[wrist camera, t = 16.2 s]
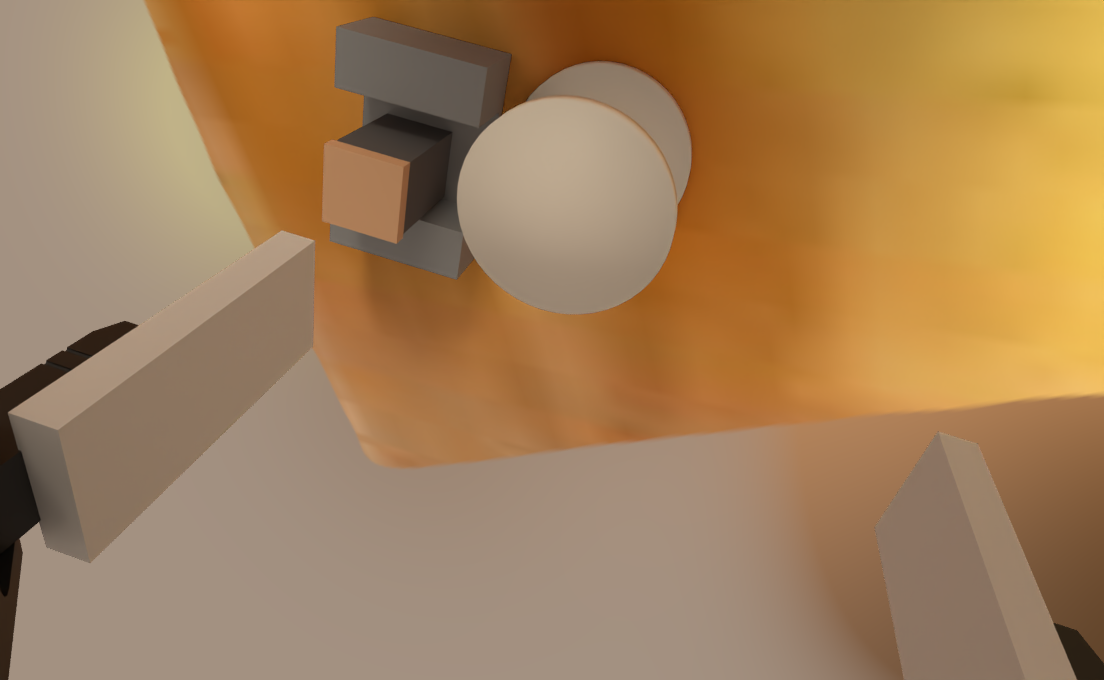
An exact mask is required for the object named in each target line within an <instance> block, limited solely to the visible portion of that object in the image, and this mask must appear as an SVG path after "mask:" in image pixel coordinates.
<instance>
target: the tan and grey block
mask: <svg viewBox="0 0 1104 680" xmlns="http://www.w3.org/2000/svg"><path fill="white" fill-rule="evenodd" d="M452 133H453V132H451V131H447V130H444V129H440V128H437V127H433V126H430V125H426V124H423V123H419V122H416V121H412V120H409V119H405V118H402V117H399V116H395V115H392V114H388V113H387V114H385V115H383V116H381V117H380V118H378V119H376V120H374V121H372V122H370V123H368V124H367V125H365V126H363V127H361V128H359V129H357V130H355V131H353V132H352V133H350V134H348V135H346V136H344V137H342V138H340V139H339V140H337V141H336V140H330V141H328V142H326V143H325V144H324V168H323V205H322V221H323V222H327V223H330V224H333V225H337V226H340V227H343V228H346V229H350V230H353V231H356V232H359V233H363V234H366V235H369V236H373V237H376V238H379V239H382V240H386V241H389V242H392V243H395V244H397V243H398V242H399V241H400V240H401V239H402V238H403V234H404V233H405V232H406V231H407V230H408V229H409V228H410V227H412V226H413V225H414V224H415V223H416V222H417V221H418V220H419V219H420V218H422V217H423V216H424V215H425V214H426V213H427V212H428V211H429V210H430V209H432V208H433V207H434V206H435V205H436V204H437V203H438V202H439V201H440V200H442V199H443V198H444V196H445V188H446V180H447V172H448V164H449V156H450V148H451V141H452Z"/></svg>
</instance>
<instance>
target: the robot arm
mask: <svg viewBox="0 0 1104 680" xmlns="http://www.w3.org/2000/svg"><path fill="white" fill-rule="evenodd" d="M314 269H315V240H311V239H308V238H305V237H301V236H298V235H295V234H292V233H288V232H285V231H280V232H279V233H277V234H276V235H274V236H273V237H271V238H270V239H268V240H267V241H265V242H264V243H262V244H261V245H259V246H258V247H256V248H255V249H253V250H252V251H250V252H249V253H247V254H246V255H244V256H243V257H241V258H240V259H238V260H237V261H235V262H234V263H232V264H231V265H229V266H228V267H226V268H225V269H223V270H222V271H220V272H219V273H217V274H216V275H214V276H213V277H211V278H210V279H208V280H207V281H205V282H204V283H202V284H201V285H199V286H198V287H196V288H195V289H193V290H192V291H190V292H189V293H187V294H186V295H184V296H183V297H181V298H180V299H178V300H177V301H175V302H173V303H172V304H171V305H169V306H168V307H166V308H164V309H163V310H161V311H160V312H158V313H157V314H155V315H154V316H152V317H151V318H150V319H148V320H147V321H145V322H143V323H142V324H140V325H136V324H133V323H130V322H126V321H123V322H120V323H117V324H114V325H111V326H108V327H105V328H102V329H99V330H96V331H93V332H91V333H89V334H88V335H86V336H85V337H83V338H81V339H80V340H78V341H77V342H75V343H74V344H72V345H70V346H69V347H67V350H66V351H61V352H59V353H58V354H56V355H54V356H53V357H51V358H50V359H48V360H47V361H46V364H40V365H38V366H37V367H35V368H34V369H32V370H30V371H29V372H27V373H26V374H24V375H22V376H21V377H19V378H18V379H16V380H14V381H13V382H12V383H10V384H8V385H6V386H5V387H3V388H2V389H0V680H8V677H9V668H10V659H11V651H12V642H13V633H14V624H15V615H16V607H17V597H18V589H19V579H20V571H21V563H22V554H23V552H22V548H21V543H20V540H19V538H20V537H21V536H23V535H24V534H25V533H26V532H27V531H28V530H30V529H31V528H32V527H33V526H34V525H36V524H37V523H38V522H39V523H40V526H41V530H42V534H43V537H44V540H45V544H46V547H47V548H50V549H53V550H55V551H58V552H61V553H64V554H66V555H69V556H72V557H75V558H77V559H80V560H83V561H86V562H88V563H91V562H92V561H93V560H94V559H95V558H96V557H97V556H98V555H99V554H100V553H101V552H102V551H103V550H104V549H105V548H106V547H107V546H108V545H109V544H110V543H111V542H112V541H113V540H114V539H116V537H117V536H119V535H120V534H121V533H122V532H123V531H124V530H125V529H126V528H127V527H128V526H129V525H130V524H131V523H132V522H133V521H134V520H135V519H136V518H137V517H138V516H139V515H140V514H141V513H142V512H143V511H144V510H145V509H146V508H147V507H148V506H149V505H150V504H151V503H153V501H155V499H157V498H158V497H159V496H160V495H161V494H162V493H163V492H164V491H165V490H166V489H167V488H168V487H169V486H170V485H171V484H172V483H173V482H174V481H175V480H176V479H177V478H178V477H179V476H180V475H181V474H182V473H183V472H184V471H185V470H186V469H188V468H189V467H190V466H191V465H192V464H193V463H194V462H195V461H196V460H197V459H198V458H199V457H200V456H201V455H202V454H203V453H204V452H205V451H206V450H207V449H208V448H209V447H210V446H211V445H212V444H213V443H214V442H215V441H216V440H217V439H218V438H219V437H220V436H221V435H222V434H223V433H225V432H226V430H228V429H229V428H230V427H231V426H232V425H233V424H234V423H235V422H236V421H237V420H238V419H239V418H240V417H241V416H242V415H243V414H244V413H245V412H246V411H247V410H248V409H249V408H250V407H251V406H252V405H253V404H254V403H255V402H256V401H257V400H258V399H260V397H262V396H263V395H264V394H265V392H267V391H268V390H269V389H270V388H271V387H272V386H273V385H274V384H275V383H276V382H277V381H278V380H279V379H280V378H281V377H282V376H283V375H284V374H285V373H286V372H287V371H288V370H289V369H290V368H291V367H292V366H293V365H294V364H295V363H297V362H298V361H299V360H300V359H301V358H302V357H303V356H304V355H305V354H306V353H307V352H308V351H309V350H310V349H311V348H312V347H313V324H314ZM875 532H876V537H877V542H878V547H879V553H880V558H881V563H882V568H883V573H884V579H885V584H886V589H887V594H888V599H889V604H890V609H891V615H892V620H893V624H894V630H895V635H896V640H897V646H898V651H899V655H900V661H901V666H902V671H903V677H904V680H1104V663H1103V662H1102V661H1101V660H1100V658H1099V657H1098V656H1097V655H1096V653H1095V652H1094V651H1093V650H1092V648H1091V647H1090V646H1089V645H1088V643H1087V642H1086V641H1085V640H1084V639H1083V637H1082V636H1081V635H1080V634H1079V632H1078V631H1077V630H1074V629H1071V628H1068V627H1065V626H1062V625H1059V624H1055V623H1053V622H1052V619H1051V617H1050V614H1049V612H1048V610H1047V607H1046V605H1045V602H1044V600H1043V598H1042V595H1041V593H1040V591H1039V588H1038V586H1037V583H1036V581H1035V579H1034V576H1033V574H1032V572H1031V569H1030V567H1029V564H1028V563H1027V560H1026V557H1025V555H1024V552H1023V550H1022V548H1021V545H1020V543H1019V541H1018V538H1017V536H1016V533H1015V531H1014V529H1013V526H1012V524H1011V522H1010V519H1009V517H1008V515H1007V512H1006V510H1005V507H1004V505H1003V503H1002V500H1001V498H1000V495H999V493H998V491H997V488H996V486H995V483H994V481H993V479H992V476H991V474H990V472H989V469H988V467H987V464H986V462H985V460H984V457H983V455H982V453H981V450H980V448H979V446H978V444H977V443H974V442H971V441H968V440H964V439H961V438H958V437H955V436H951V435H948V434H945V433H941V432H937V433H936V435H935V436H934V438H933V439H932V441H931V442H930V444H929V446H928V447H927V448H926V450H925V452H924V453H923V455H922V456H921V458H920V459H919V461H918V462H917V464H916V465H915V467H914V468H913V470H912V471H911V473H910V474H909V476H908V477H907V479H906V480H905V482H904V484H903V485H902V487H901V488H900V489H899V491H898V492H897V494H896V495H895V497H894V499H893V500H892V501H891V503H890V505H889V506H888V508H887V509H886V511H885V512H884V514H883V515H882V517H881V518H880V520H879V521H878V523H877V524H876V526H875Z"/></svg>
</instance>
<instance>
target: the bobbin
mask: <svg viewBox="0 0 1104 680" xmlns="http://www.w3.org/2000/svg"><path fill="white" fill-rule="evenodd" d="M691 162H692V143H691V137H690V132H689V128H688V125H687V121H686V119H685V117H684V115H683V112H682V110H681V108H680V107H679V105H678V104H677V102H676V100H675V99H674V98H673V97H672V95H671V94H670V93H669V92H668V90H667V89H666V88H665V87H663V86H662V85H661V84H660V83H659V82H658V81H657V80H655V79H654V78H653V77H651V76H650V75H648V74H647V73H645V72H643V71H641V70H639V69H637V68H635V67H632V66H629V65H626V64H622V63H617V62H612V61H591V62H584V63H580V64H576V65H573V66H570V67H568V68H565V69H563V70H561V71H560V72H558V73H556V74H554V75H553V76H551V77H550V78H549V79H548V80H546V81H545V82H544V83H542V84H541V85H540V86H539V87H538V88H537V89H536V90H535V91H534V92H533V93H532V94H531V95H530V96H529V98H528V99H527V101H526V102H525V103H522V104H519V105H518V106H516V107H514V108H512V109H510V110H509V111H507V112H506V113H504V114H503V115H502V116H500V117H499V118H498V119H497V120H495V121H494V122H493V123H491V124H490V125H489V126H488V127H487V128H486V129H485V130H484V131H483V132H482V133H481V134H480V135H479V137H478V138H477V139H476V141H475V142H474V144H473V145H472V146H471V148H470V150H469V152H468V154H467V156H466V158H465V160H464V163H463V166H462V169H461V171H460V176H459V181H458V188H457V210H458V216H459V222H460V226H461V229H462V233H463V236H464V239H465V241H466V243H467V245H468V247H469V249H470V251H471V253H472V255H473V256H474V258H475V260H476V261H477V263H478V264H479V265H480V267H481V268H482V269H483V271H484V272H485V273H486V274H487V275H488V276H489V277H490V278H491V279H492V280H493V281H494V282H495V283H496V284H497V285H498V286H500V287H501V288H502V289H503V290H504V291H506V292H507V293H509V294H510V295H512V296H513V297H515V298H516V299H518V300H520V301H522V302H524V303H526V304H528V305H531V306H534V307H536V308H539V309H542V310H546V311H550V312H554V313H562V314H588V313H595V312H599V311H604V310H607V309H610V308H613V307H615V306H618V305H620V304H622V303H624V302H626V301H627V300H629V299H631V298H632V297H634V296H635V295H636V294H638V293H639V292H641V291H642V290H643V289H644V288H645V287H646V286H647V285H648V284H649V283H650V282H651V281H652V279H653V278H654V277H655V276H656V274H657V273H658V272H659V270H660V269H661V267H662V265H663V263H664V262H665V260H666V257H667V255H668V253H669V250H670V248H671V244H672V240H673V236H674V232H675V228H676V223H677V213H678V206H677V205H678V203H679V201H680V200H681V198H682V196H683V193H684V191H685V188H686V186H687V182H688V178H689V174H690V170H691Z"/></svg>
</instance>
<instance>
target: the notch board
mask: <svg viewBox="0 0 1104 680" xmlns="http://www.w3.org/2000/svg"><path fill="white" fill-rule="evenodd" d="M511 55H512V54H509V53H505V52H502V51H498V50H494V49H491V48H487V47H483V46H479V45H476V44H472V43H468V42H465V41H461V40H457V39H454V38H450V37H446V36H442V35H439V34H435V33H431V32H428V31H424V30H420V29H417V28H413V27H409V26H406V25H402V24H398V23H394V22H391V21H387V20H383V19H380V18H376V17H371V18H367V19H363V20H359V21H355V22H352V23H348V24H344V25H340V26H337V27H336V57H335V87H336V88H339V89H343V90H346V91H350V92H353V93H357V94H360V95H364V109H363V126H365V125H367V124H368V123H370V122H372V121H374V120H376V119H378V118H380V117H381V116H383V115H385V114H387V113H388V114H392V115H395V116H399V117H402V118H405V119H409V120H412V121H416V122H419V123H423V124H426V125H430V126H433V127H437V128H440V129H444V130H447V131H451V132H453V133H452V141H451V148H450V156H449V164H448V172H447V180H446V188H445V196H444V198H443V199H442V200H440V201H439V202H438V203H437V204H436V205H435V206H434V207H433V208H432V209H430V210H429V211H428V212H427V213H426V214H425V215H424V216H423V217H422V218H420V219H419V220H418V221H417V222H416V223H415V224H414V225H413V226H412V227H410V228H409V229H408V230H407V231H406V232H405V233H404V234H403V238H402V239H401V240H400V241H399V242H398V243H397V244H395V243H392V242H389V241H386V240H382V239H379V238H376V237H373V236H369V235H366V234H363V233H359V232H356V231H353V230H350V229H346V228H343V227H340V226H337V225H333V224H330V241H332V242H335V243H338V244H341V245H345V246H348V247H351V248H355V249H358V250H361V251H364V252H368V253H371V254H374V255H377V256H381V257H384V258H387V259H391V260H394V261H397V262H400V263H404V264H407V265H410V266H413V267H417V268H420V269H423V270H427V271H430V272H433V273H436V274H440V275H443V276H446V277H449V278H453V279H456V280H457V279H458V278H459V276H460V275H461V274H462V273H463V272H464V270H465V269H466V268H467V267H468V266H469V264H470V263H471V262H472V261H473V259H474V256H473V255H472V253H471V251H470V249H469V247H468V245H467V243H466V241H465V239H464V236H463V233H462V229H461V226H460V222H459V216H458V210H457V188H458V181H459V176H460V171H461V169H462V166H463V163H464V160H465V158H466V156H467V154H468V152H469V150H470V148H471V146H472V145H473V144H474V142H475V141H476V139H477V138H478V137H479V135H480V134H481V133H482V132H483V131H484V130H485V129H486V128H487V127H488V126H489V125H490V124H491V123H493V122H494V121H495V120H497V119H498V118H499V117H500V116H502V110H503V104H504V98H505V92H506V86H507V79H508V73H509V67H510V61H511Z"/></svg>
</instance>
